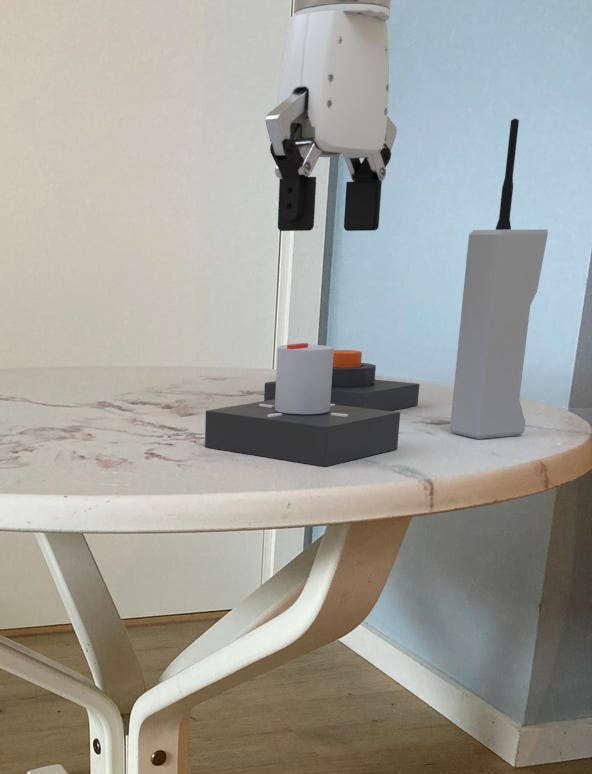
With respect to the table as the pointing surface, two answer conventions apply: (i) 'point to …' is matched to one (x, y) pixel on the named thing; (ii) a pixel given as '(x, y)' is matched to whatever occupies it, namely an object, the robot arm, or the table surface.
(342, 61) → the robot arm
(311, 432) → the timer panel
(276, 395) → the timer knob
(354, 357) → the button
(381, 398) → the block
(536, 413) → the table surface
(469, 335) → the vintage mobile phone
